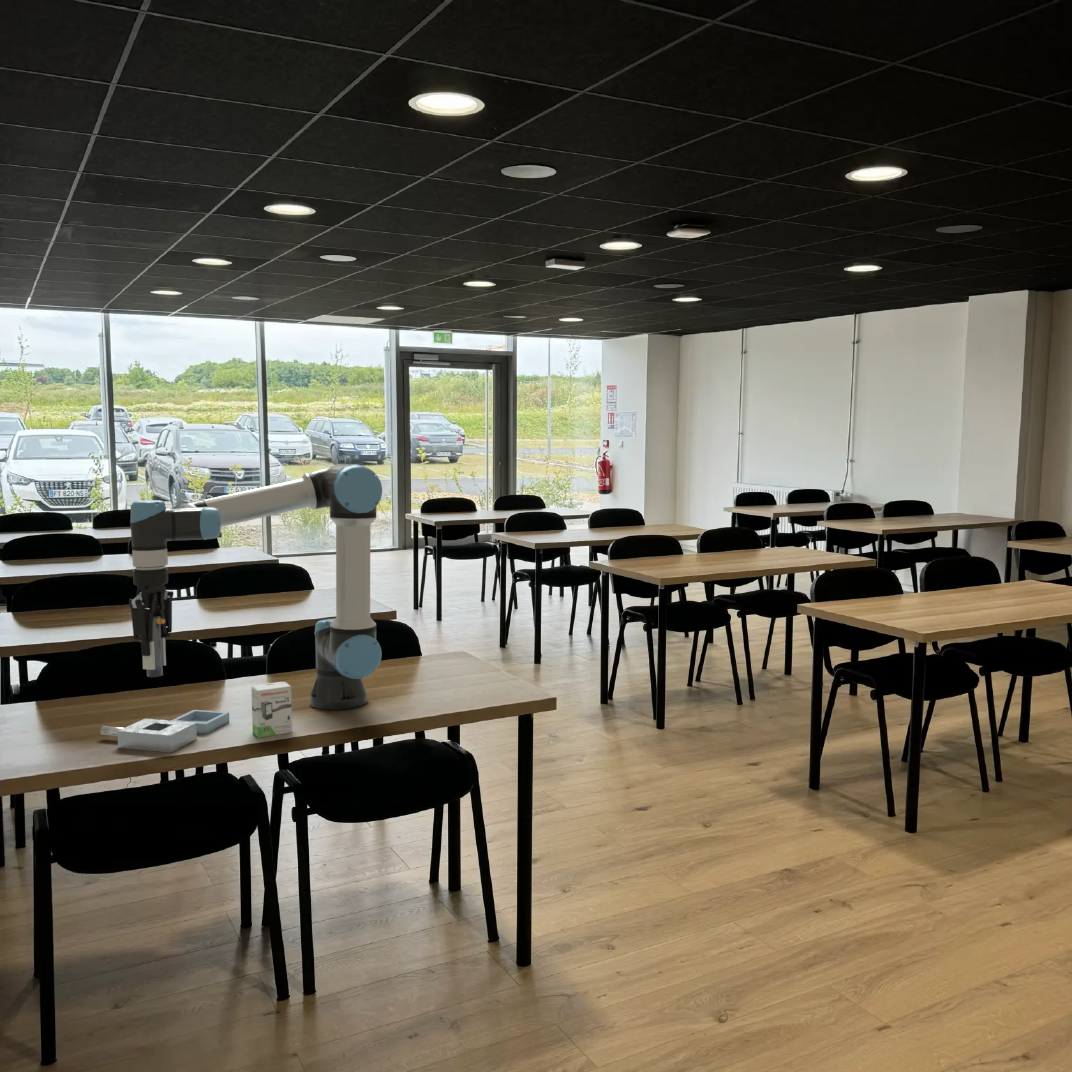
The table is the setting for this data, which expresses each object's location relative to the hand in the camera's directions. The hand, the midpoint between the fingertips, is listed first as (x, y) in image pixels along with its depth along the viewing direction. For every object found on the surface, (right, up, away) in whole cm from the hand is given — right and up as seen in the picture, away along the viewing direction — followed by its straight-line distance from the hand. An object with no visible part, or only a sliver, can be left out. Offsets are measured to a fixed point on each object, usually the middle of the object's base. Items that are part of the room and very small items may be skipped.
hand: (154, 666), depth 223 cm
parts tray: (+5, -17, +15) cm, 23 cm away
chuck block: (-4, -18, +3) cm, 19 cm away
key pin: (0, -2, 0) cm, 2 cm away
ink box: (+25, -18, +10) cm, 32 cm away
